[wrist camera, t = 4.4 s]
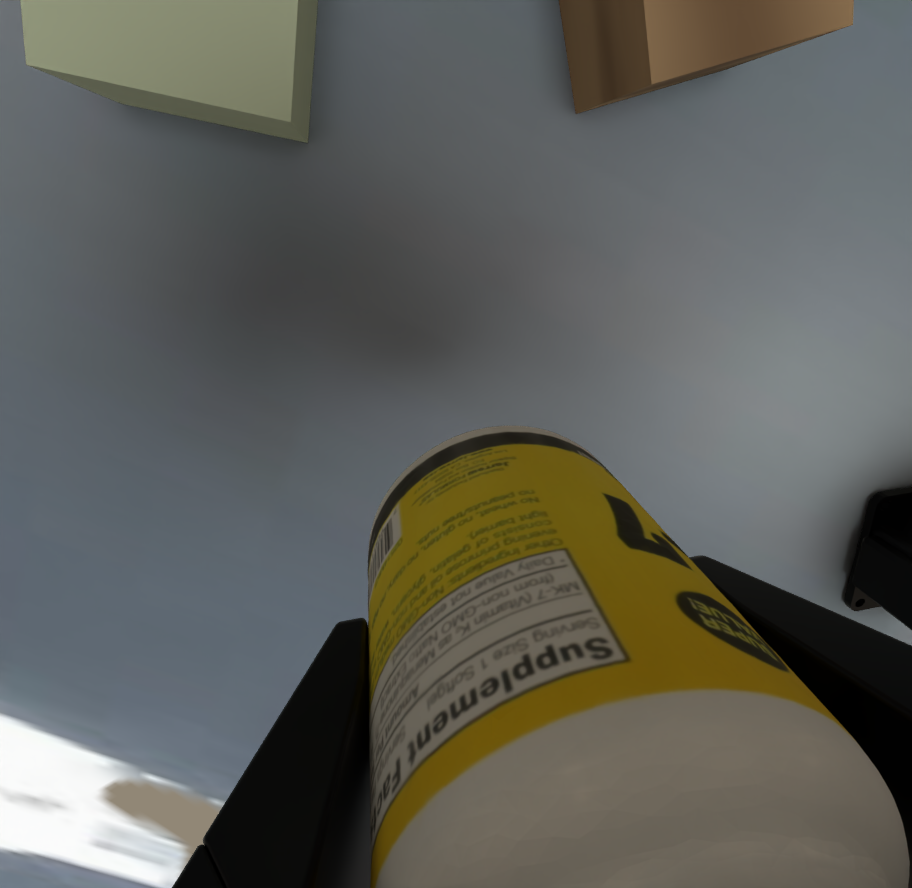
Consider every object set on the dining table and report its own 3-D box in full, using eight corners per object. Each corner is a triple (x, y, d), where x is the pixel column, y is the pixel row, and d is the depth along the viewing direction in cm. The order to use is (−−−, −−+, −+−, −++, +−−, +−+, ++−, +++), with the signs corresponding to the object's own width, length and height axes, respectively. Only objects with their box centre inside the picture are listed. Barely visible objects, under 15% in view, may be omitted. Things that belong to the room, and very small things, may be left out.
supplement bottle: (655, 559, 11) (1283, 1335, 4) (454, 674, 12) (628, 1588, 4) (550, 363, 9) (1458, 1162, 2) (311, 510, 10) (110, 1706, 2)
